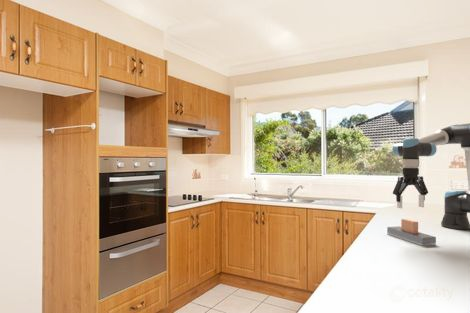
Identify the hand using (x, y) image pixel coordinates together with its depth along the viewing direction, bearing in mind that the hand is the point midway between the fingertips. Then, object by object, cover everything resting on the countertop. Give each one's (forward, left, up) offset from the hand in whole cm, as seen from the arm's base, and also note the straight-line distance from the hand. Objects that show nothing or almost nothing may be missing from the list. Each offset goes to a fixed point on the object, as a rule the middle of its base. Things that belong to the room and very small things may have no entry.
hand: (410, 207), depth 163 cm
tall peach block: (+1, 0, -16) cm, 16 cm away
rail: (0, 0, -17) cm, 17 cm away
